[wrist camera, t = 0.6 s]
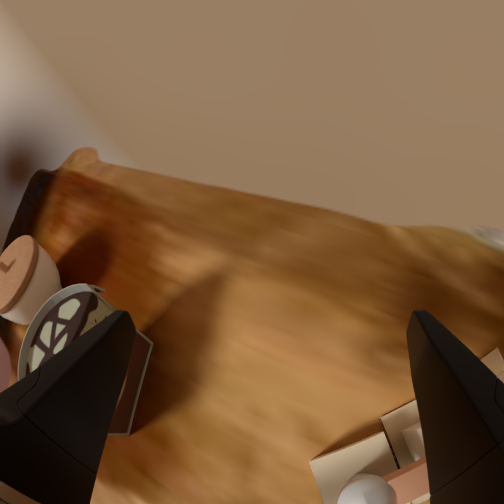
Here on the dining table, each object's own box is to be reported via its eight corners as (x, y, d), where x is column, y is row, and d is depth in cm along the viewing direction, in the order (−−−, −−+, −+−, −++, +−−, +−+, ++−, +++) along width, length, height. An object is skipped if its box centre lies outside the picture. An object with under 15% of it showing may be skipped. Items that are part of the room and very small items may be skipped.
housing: (528, 427, 13) (575, 417, 8) (340, 534, 14) (337, 567, 9) (495, 348, 18) (534, 317, 13) (309, 446, 19) (296, 451, 14)
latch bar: (559, 399, 9) (575, 393, 8) (348, 533, 10) (348, 543, 9) (540, 353, 11) (555, 343, 10) (328, 480, 12) (326, 485, 11)
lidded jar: (37, 353, 30) (-20, 321, 23) (19, 306, 36) (-25, 274, 29) (84, 293, 33) (31, 250, 26) (60, 254, 39) (18, 215, 32)
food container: (112, 319, 30) (46, 272, 22) (158, 328, 28) (89, 277, 20) (81, 427, 24) (1, 405, 16) (125, 450, 22) (39, 437, 14)
